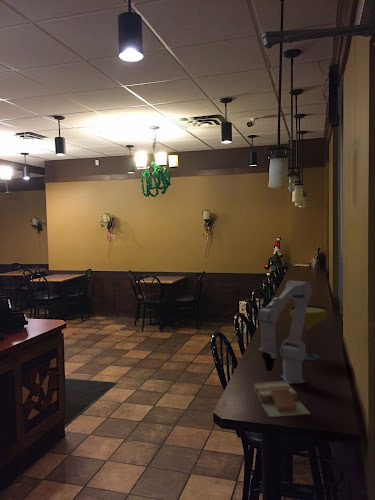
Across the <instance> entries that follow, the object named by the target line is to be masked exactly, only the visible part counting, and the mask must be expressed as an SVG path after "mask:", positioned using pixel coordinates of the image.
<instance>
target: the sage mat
mask: <svg viewBox="0 0 375 500" xmlns="http://www.w3.org/2000/svg"><path fill="white" fill-rule="evenodd" d="M295 403H296V405H297V407H296V410H287V411H277V408H276V406H275V404H274V403H264V404H262V403H260V404H261V406H262V408H263V409H264V410H265V412H266V414H267V415H268V417H269V418H270V419H271V418H280V417H281V418H282V417H283V418H284V417H293V416H304V415H311V412H310V411H309V410H308V409H307V408H306V407H305V405H304V404H303V402H301V401H300V400H297V401H295Z"/></svg>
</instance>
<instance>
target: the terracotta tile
mask: <svg viewBox="0 0 375 500" xmlns="http://www.w3.org/2000/svg"><path fill="white" fill-rule="evenodd" d="M271 397H272V399H273V401H274V404H275V406H276V408H277V411H287V410H296V407H297V405H296V403H295V401H294V399H293V397H292V395H291V393H290V391H289V389H283V390H271Z"/></svg>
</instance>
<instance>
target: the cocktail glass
mask: <svg viewBox="0 0 375 500" xmlns="http://www.w3.org/2000/svg"><path fill="white" fill-rule="evenodd" d="M294 308H295V306H293V307H291V308H290V309H289V310H290V311H289V315H290V318H292V319H293V313H294ZM327 316H328V311H327V308H326V307H323V306H322V307H321V306H318V305H317V306H316V305H307V309H306V315H305V320H304V325H303V326H305V328H306V329H307V330H308V331H307V333H308V334H307V336H308V350H307V352H306V356H305V359H304V360H303V361H319V360H320V359H321V356H320V355H319V354H315V353H312V352H311V351H312V350H311V338H310V333H311V332H310V331H311V330H310V329H311V328H312V327H313V326H315V325H316V324H319V323H321V322H322V321H324V320H325V319H327Z"/></svg>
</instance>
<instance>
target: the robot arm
mask: <svg viewBox="0 0 375 500" xmlns="http://www.w3.org/2000/svg"><path fill="white" fill-rule="evenodd" d="M312 290H313V288H312V285H311V283H310V282H309V281H307V280H306V281H299V280H291V279H290V280H288V281H287V282H286V283H285V287H284V290H283V291H282V293H280V295H279V296H278V297H273V299H272V300H271V301H270V302H269V303H268V304H267V305H266V306H265V307H262V308H261V309H259V311H258V312H257V320H258V323H259V326H260V337H261V338H260V339H261V340H260V341H261V344H260V345H261V346H260V347H259V348H258V351H260V355H261V356H262V359H263V361H264V366H265V369H266V371H267V372H271V371H273V369H274V363H275V360H276V359H277V357H278V355H277V348H276V346H277V345H276V343H277V342H276V323H277V322H278V317H280V314H281V312H283V310H284V309H285V308H286V303H287V302H288V301H289V300H290V299H291V300H293V301H294V303H295V304H294V307H295V308H294V313H293V318H292V320H291V324H290V330H289V334H288V337H287V338H285V339H284V340H283V341H282V344H281V347H280V350H279V354H280V357H281V358H282V360H283V361H282V374H281V375H280V377H281V378H282V379H283V381H286V382H287V383H288V384H289V385H291V384H303V383H306V381H305V379H304V378H303V372H302V371H303V370H302V369H303V365H302V362H304V361H305V360H304V359H305V356H306V353H307V352H306V347H307V345H306V344H305V342H304V341H303V340H302V336H303V335H302V334H303V329H304V326H305V325H304V320H305V315H306V309H307V306H308V304H309V302H310V300H311V297H312Z"/></svg>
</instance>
